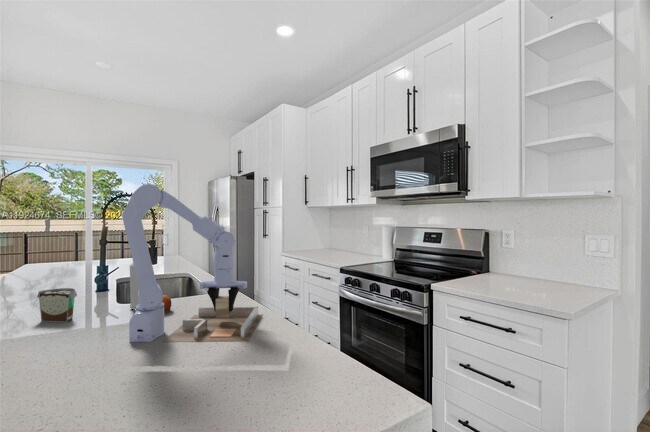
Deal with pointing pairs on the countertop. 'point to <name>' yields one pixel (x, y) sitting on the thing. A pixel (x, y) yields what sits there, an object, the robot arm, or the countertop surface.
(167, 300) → the fruit
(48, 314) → the food container
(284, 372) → the countertop surface
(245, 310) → the channel walls
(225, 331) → the pad
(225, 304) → the maple block
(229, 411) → the countertop surface
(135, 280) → the bottle
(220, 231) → the robot arm
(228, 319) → the walnut board
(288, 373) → the countertop surface
